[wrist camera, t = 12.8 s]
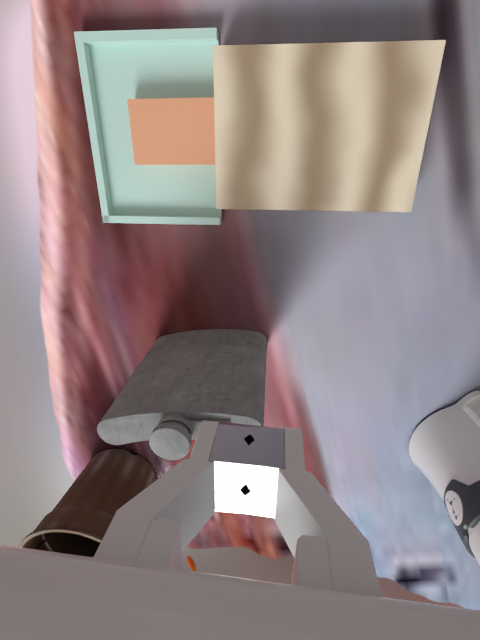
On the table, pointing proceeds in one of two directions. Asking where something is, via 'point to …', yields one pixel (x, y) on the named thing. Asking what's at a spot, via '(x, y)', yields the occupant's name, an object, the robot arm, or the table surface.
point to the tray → (114, 124)
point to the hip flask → (189, 389)
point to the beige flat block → (322, 124)
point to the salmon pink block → (172, 131)
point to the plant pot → (92, 503)
